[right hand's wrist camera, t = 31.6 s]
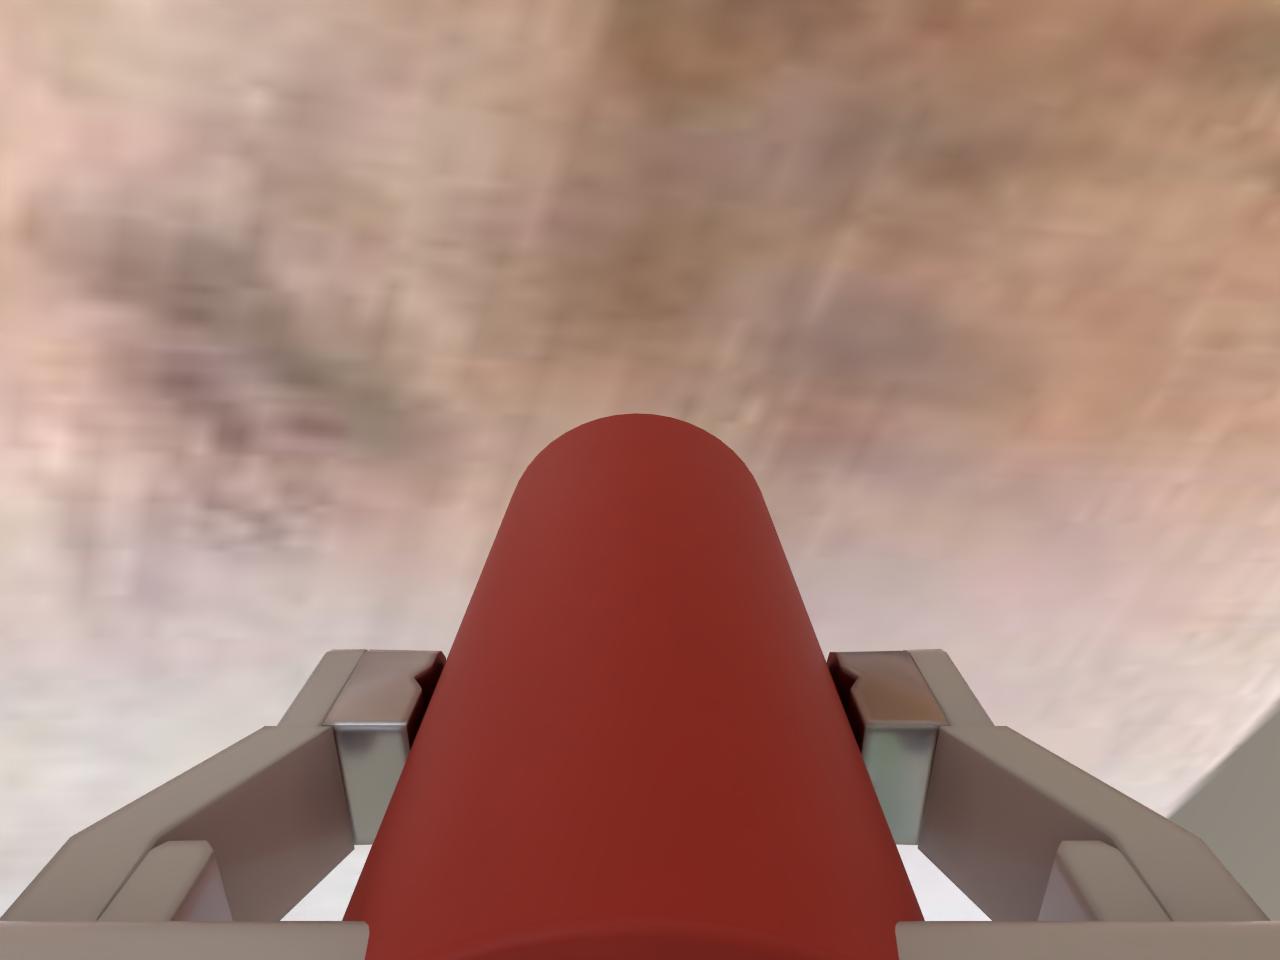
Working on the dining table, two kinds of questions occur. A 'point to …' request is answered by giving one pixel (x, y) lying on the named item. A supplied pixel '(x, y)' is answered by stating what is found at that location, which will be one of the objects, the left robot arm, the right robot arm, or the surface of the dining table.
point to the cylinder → (635, 737)
